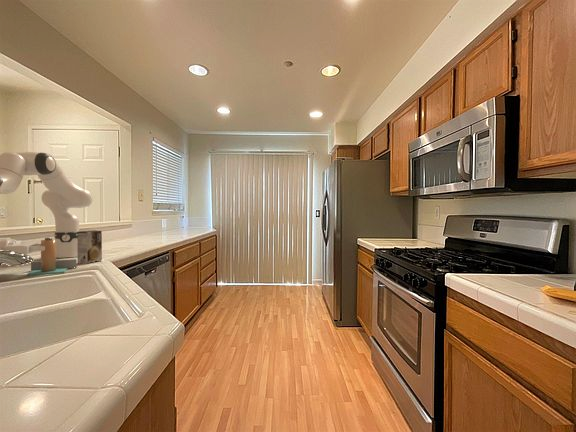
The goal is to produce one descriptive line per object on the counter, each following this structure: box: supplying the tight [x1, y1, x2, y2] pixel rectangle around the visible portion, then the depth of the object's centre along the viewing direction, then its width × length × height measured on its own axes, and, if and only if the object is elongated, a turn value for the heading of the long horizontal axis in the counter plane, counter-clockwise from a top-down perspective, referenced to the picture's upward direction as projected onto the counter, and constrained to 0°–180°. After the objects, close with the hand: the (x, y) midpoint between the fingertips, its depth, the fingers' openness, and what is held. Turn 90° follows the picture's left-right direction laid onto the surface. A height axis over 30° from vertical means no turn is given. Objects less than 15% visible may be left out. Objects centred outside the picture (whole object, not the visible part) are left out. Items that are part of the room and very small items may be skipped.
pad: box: [27, 268, 68, 276], centre depth 129 cm, size 9×12×1 cm
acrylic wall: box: [30, 258, 77, 272], centre depth 135 cm, size 1×16×4 cm, turn 119°
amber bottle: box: [40, 237, 57, 272], centre depth 129 cm, size 5×5×14 cm
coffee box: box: [76, 229, 103, 264], centre depth 155 cm, size 9×6×16 cm
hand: (47, 247), depth 128 cm, fingers open, 8 cm apart
